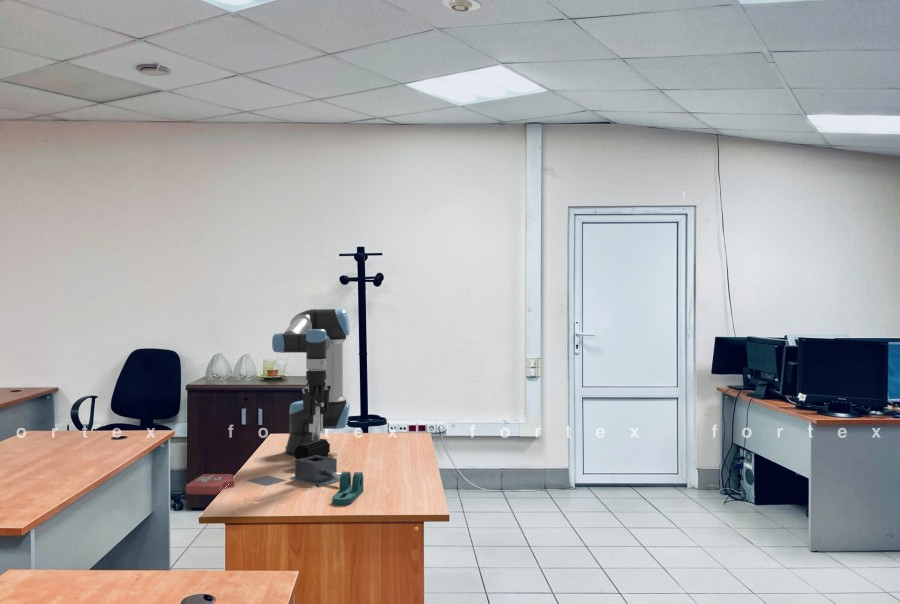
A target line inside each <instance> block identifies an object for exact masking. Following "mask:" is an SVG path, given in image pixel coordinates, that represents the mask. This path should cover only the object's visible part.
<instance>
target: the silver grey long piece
mask: <svg viewBox="0 0 900 604" xmlns="http://www.w3.org/2000/svg"><path fill="white" fill-rule="evenodd" d="M320 407H324V403H322V402H317V401H316V402H315V409H314V415H316V432H315V433H313V432H312V440H313V441H318V440H320V439H321V431H320Z"/></svg>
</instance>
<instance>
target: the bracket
mask: <svg viewBox="0 0 900 604" xmlns="http://www.w3.org/2000/svg"><path fill="white" fill-rule="evenodd" d="M362 493H364V474H363V472H362V471H355V472H354V473H353V475H352V473H351V471H343V470H342V472H341V476H340V481H339V490H338V491H337V492H336V493H335V494H333V496H332V497H331V498H332V501H331V502H332V503H331V504H332V505H334V506H341V507H342V506H349V505H351V504H353V503H354V502H355V501H356V500H357V499H358V498H359V496H361V495H362Z"/></svg>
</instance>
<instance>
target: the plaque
mask: <svg viewBox="0 0 900 604" xmlns="http://www.w3.org/2000/svg"><path fill="white" fill-rule="evenodd" d="M228 484H229V485H228ZM226 486H227V487H226ZM225 487H226V488H225ZM233 487H235V479H234V474H231V473H222V474H221V473H206V474H205V473H204V474H201V475H200V476H198V477H197V478H194V479H193V480H192V481H190V482H189V483H187V484H186V485H185V494H186V495H218V494H220V493H221V491H223V489H229V488H233Z"/></svg>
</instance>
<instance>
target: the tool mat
mask: <svg viewBox="0 0 900 604" xmlns="http://www.w3.org/2000/svg"><path fill="white" fill-rule="evenodd" d="M245 481H246V482H249V483H253V484H257V485H262V486H266V487H267V486H271V485H276V484H279V483H283V482H286V481H288V479H285V478H280V477H275V476H270V475H264V476H263V475H262V476H259V477H254V478H251V479H247V480H245Z"/></svg>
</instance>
